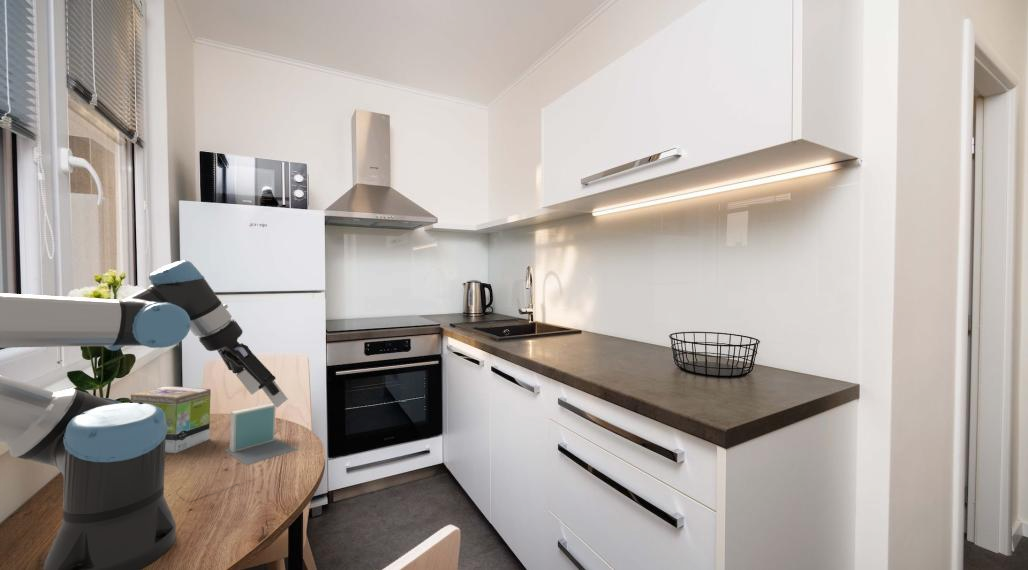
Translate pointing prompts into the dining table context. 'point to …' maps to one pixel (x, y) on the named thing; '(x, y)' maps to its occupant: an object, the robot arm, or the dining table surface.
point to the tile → (252, 427)
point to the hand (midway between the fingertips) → (268, 396)
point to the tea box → (181, 414)
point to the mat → (261, 452)
